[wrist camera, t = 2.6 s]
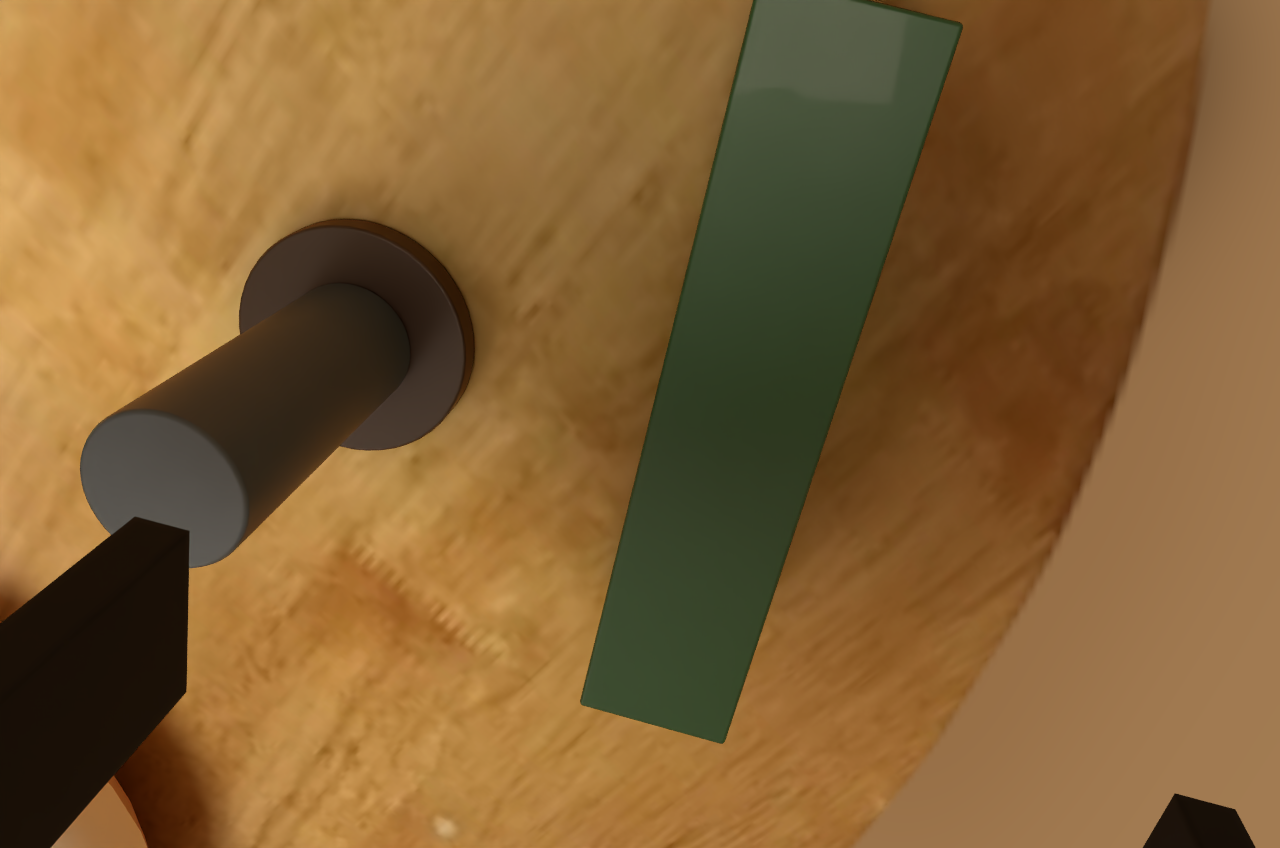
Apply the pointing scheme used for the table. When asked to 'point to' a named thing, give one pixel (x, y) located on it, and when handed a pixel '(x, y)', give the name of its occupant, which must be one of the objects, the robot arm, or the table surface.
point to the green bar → (762, 345)
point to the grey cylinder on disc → (288, 387)
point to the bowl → (105, 823)
